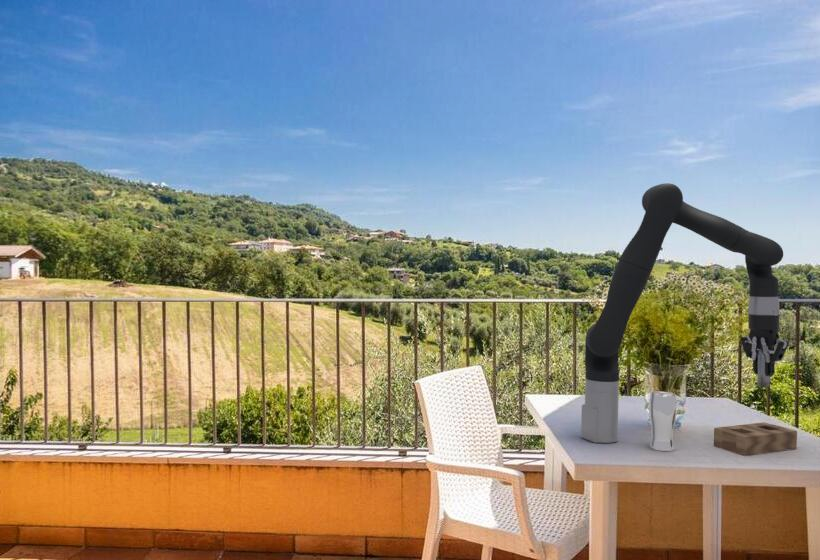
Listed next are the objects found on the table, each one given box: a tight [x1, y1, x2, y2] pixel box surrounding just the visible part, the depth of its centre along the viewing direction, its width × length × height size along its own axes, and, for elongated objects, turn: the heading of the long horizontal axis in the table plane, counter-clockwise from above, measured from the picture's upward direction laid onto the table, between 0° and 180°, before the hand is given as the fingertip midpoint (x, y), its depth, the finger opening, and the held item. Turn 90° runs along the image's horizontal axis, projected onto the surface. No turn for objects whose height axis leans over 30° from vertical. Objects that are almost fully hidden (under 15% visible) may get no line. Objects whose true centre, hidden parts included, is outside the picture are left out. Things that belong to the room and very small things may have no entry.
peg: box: [756, 349, 771, 388], centre depth 175 cm, size 3×3×10 cm
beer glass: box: [648, 390, 678, 452], centre depth 172 cm, size 7×7×15 cm
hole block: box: [713, 421, 798, 457], centre depth 175 cm, size 20×10×5 cm, turn 113°
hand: (763, 374), depth 175 cm, fingers closed on peg, 3 cm apart
